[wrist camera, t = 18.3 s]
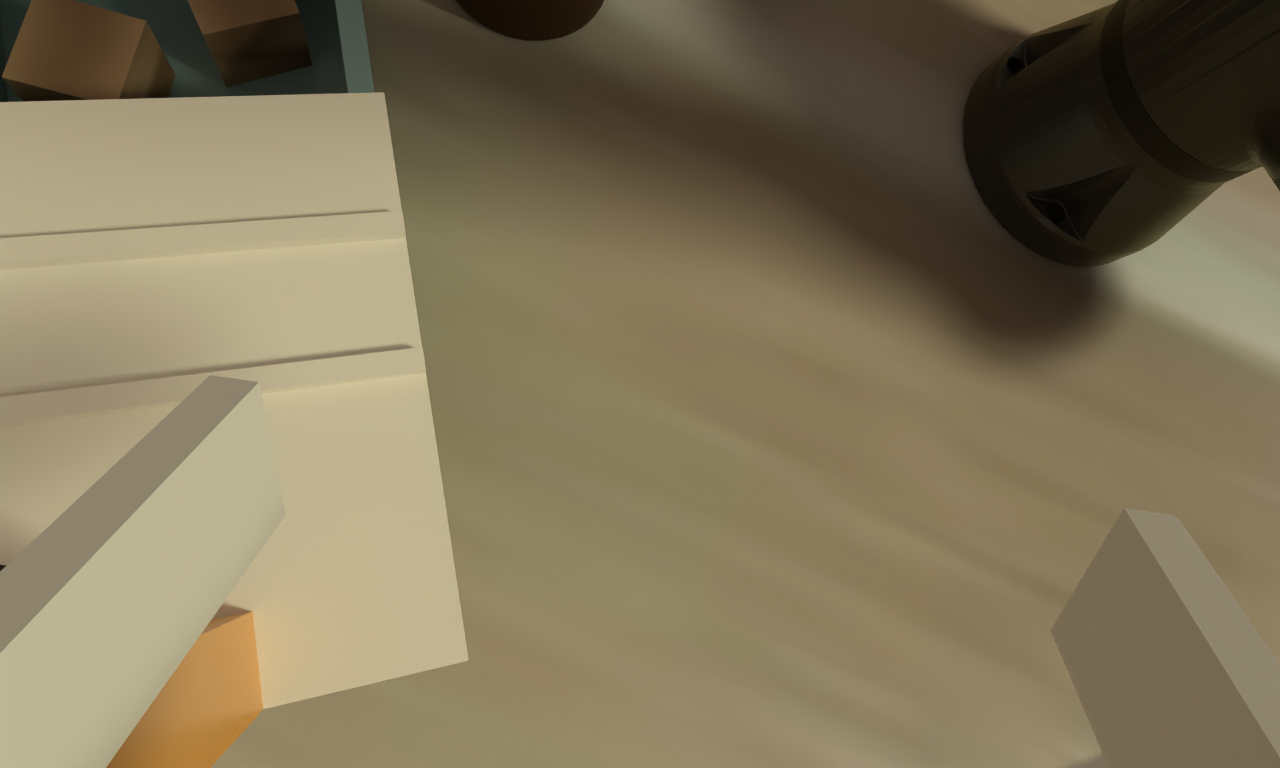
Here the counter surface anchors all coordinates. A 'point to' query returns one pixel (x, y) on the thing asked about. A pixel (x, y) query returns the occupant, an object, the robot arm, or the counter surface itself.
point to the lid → (232, 375)
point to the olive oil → (533, 16)
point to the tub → (164, 5)
